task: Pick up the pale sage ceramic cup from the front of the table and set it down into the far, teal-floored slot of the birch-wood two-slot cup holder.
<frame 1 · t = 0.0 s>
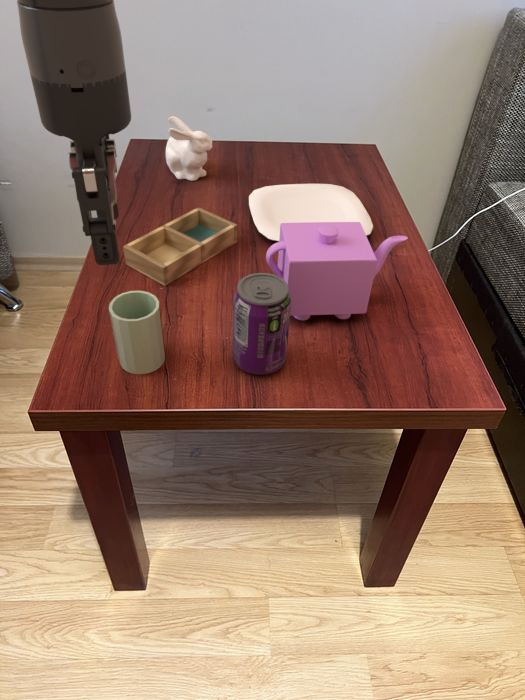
hand: (108, 239, 55), 21 cm above the table, tool pointing down, fingers open, 8 cm apart
holder: (183, 252, 91), on the table
cup: (142, 358, 72), on the table
rabbit: (188, 175, 113), on the table
teapot: (328, 302, 83), on the table
beverage can: (259, 360, 73), on the table
plate: (308, 218, 102), on the table
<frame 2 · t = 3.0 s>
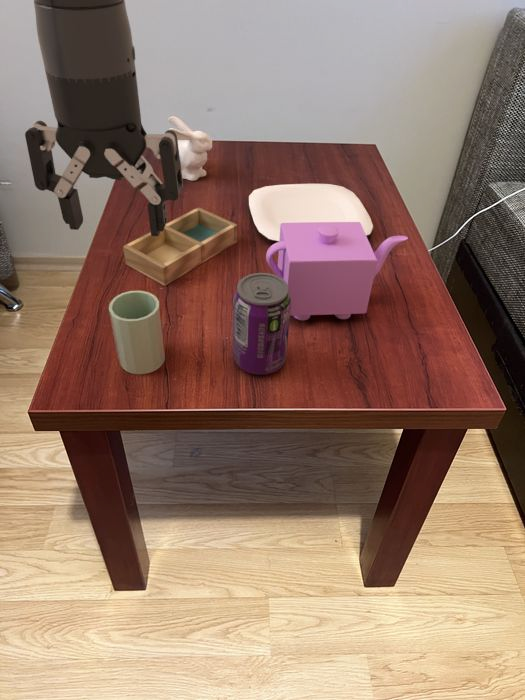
hand: (117, 229, 57), 20 cm above the table, tool pointing down, fingers open, 8 cm apart
nothing on the table moved.
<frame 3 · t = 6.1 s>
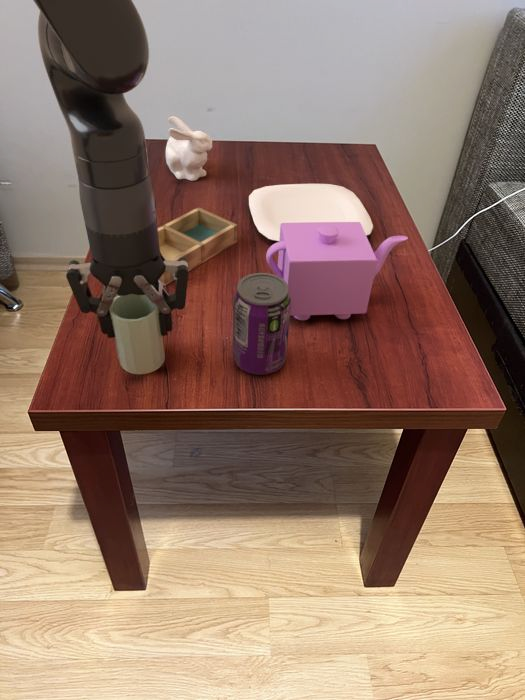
hand: (138, 332, 69), 5 cm above the table, tool pointing down, fingers closed on cup, 6 cm apart
cup: (142, 358, 72), on the table, touching gripper
everything else where it was.
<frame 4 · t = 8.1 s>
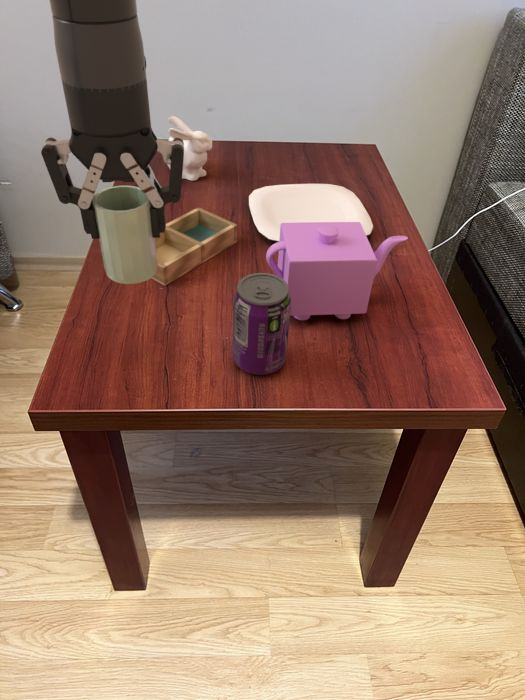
hand: (127, 234, 60), 18 cm above the table, tool pointing down, fingers closed on cup, 6 cm apart
cup: (131, 269, 63), point 14 cm above the table, touching gripper
everything else where it was.
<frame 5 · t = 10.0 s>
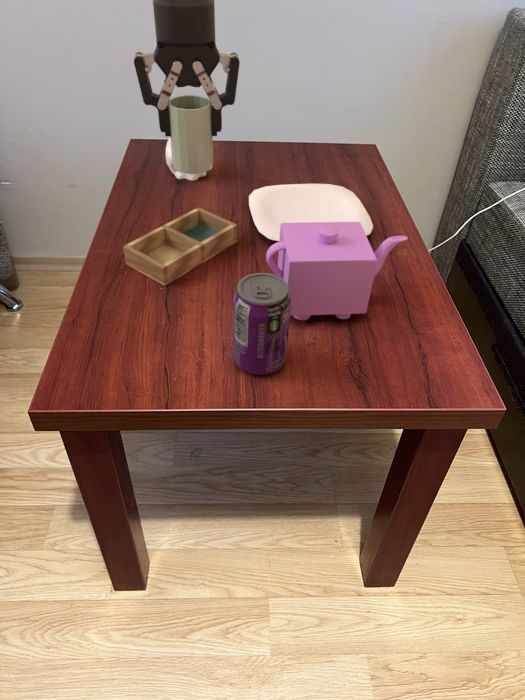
hand: (191, 133, 78), 20 cm above the table, tool pointing down, fingers closed on cup, 6 cm apart
cup: (193, 164, 81), point 15 cm above the table, touching gripper
everything else where it was.
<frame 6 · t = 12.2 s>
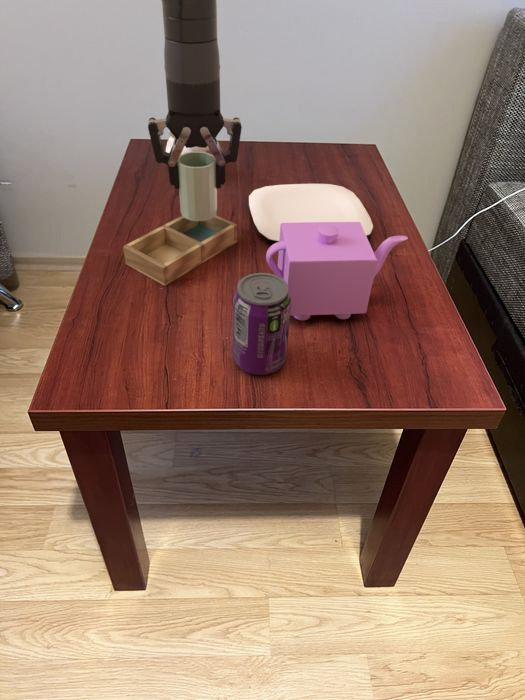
hand: (197, 186, 87), 11 cm above the table, tool pointing down, fingers closed on cup, 6 cm apart
cup: (198, 212, 90), point 6 cm above the table, touching gripper
everything else where it was.
when the fingers open (5 cm above the table, at t = 14.0 s): cup stays where it is, resting on holder.
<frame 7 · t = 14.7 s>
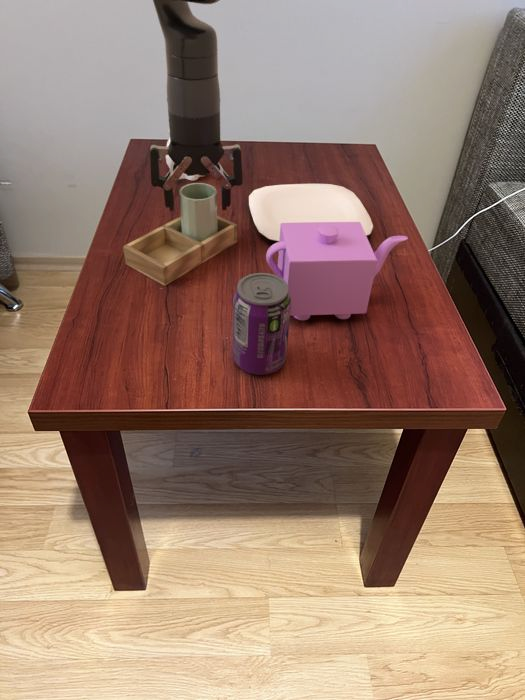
hand: (198, 208, 89), 7 cm above the table, tool pointing down, fingers open, 8 cm apart
cup: (200, 239, 93), point 1 cm above the table, touching holder
everything else where it was.
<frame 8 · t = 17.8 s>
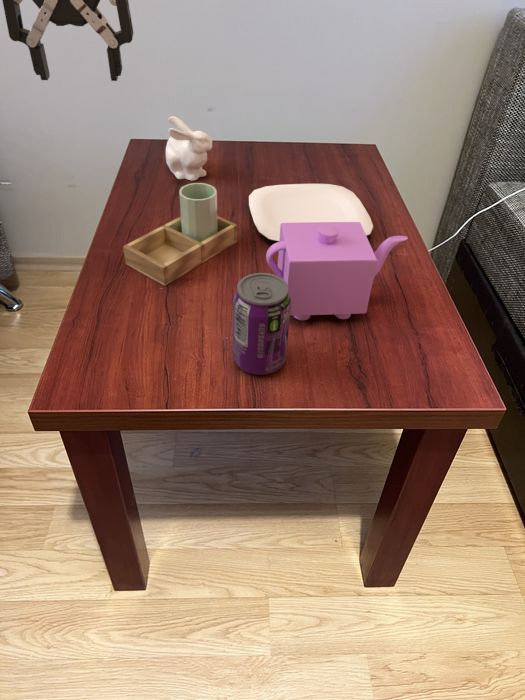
hand: (80, 78, 69), 28 cm above the table, tool pointing down, fingers open, 8 cm apart
nothing on the table moved.
at the end: cup 0.1 cm from the target spot in the holder, point 0.6 cm above the holder's base; cup tilted 0°; the gripper is holding nothing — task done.
